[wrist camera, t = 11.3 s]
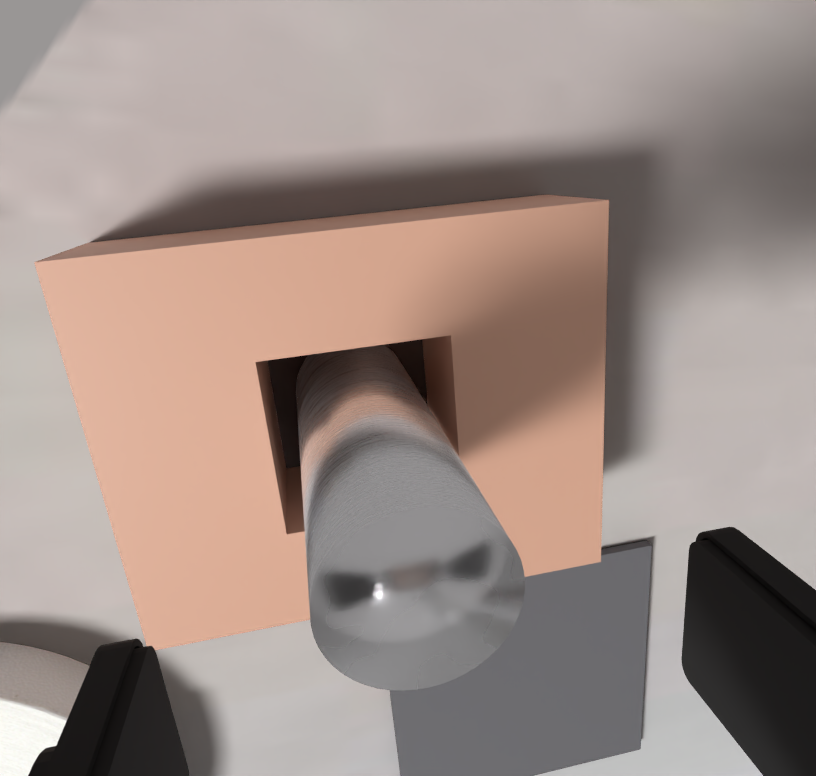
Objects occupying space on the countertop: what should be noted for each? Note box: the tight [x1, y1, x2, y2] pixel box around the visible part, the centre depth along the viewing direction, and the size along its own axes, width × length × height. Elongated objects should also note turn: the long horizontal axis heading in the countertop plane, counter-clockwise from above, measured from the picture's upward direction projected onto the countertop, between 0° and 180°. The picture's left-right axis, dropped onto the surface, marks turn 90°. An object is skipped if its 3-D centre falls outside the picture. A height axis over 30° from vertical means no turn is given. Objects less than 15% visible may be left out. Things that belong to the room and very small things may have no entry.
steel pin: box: [296, 345, 525, 691], centre depth 17 cm, size 4×4×12 cm
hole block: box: [34, 195, 609, 650], centre depth 20 cm, size 15×12×4 cm
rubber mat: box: [390, 540, 652, 776], centre depth 28 cm, size 12×12×1 cm
